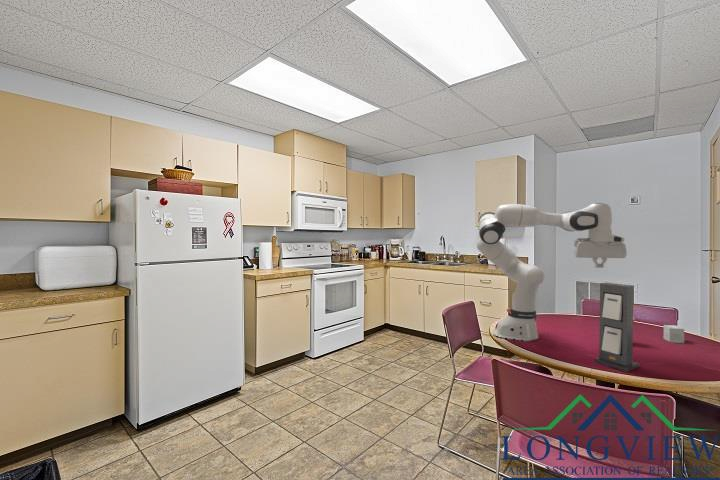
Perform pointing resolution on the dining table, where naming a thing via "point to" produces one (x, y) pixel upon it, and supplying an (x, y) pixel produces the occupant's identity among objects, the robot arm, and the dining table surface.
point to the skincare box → (673, 333)
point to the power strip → (625, 324)
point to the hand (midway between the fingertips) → (599, 267)
